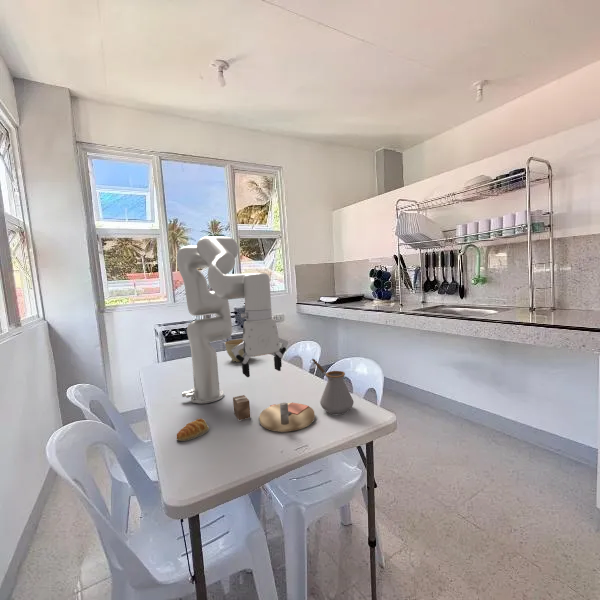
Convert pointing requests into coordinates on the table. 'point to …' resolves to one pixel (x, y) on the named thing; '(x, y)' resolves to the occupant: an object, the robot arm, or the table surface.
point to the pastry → (192, 430)
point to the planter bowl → (231, 345)
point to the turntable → (287, 417)
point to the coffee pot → (335, 393)
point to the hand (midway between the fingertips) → (262, 372)
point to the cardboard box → (241, 407)
